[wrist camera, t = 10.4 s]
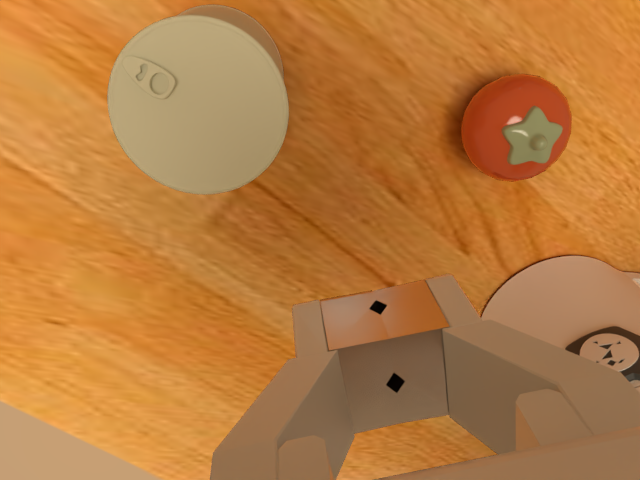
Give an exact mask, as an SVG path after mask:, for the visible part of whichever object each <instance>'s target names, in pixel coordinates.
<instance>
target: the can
mask: <svg viewBox="0 0 640 480" xmlns="http://www.w3.org/2000/svg"><path fill="white" fill-rule="evenodd" d="M107 101H108V112H109V117H110V121H111V125H112V128H113V131H114V133H115V135H116V137H117V140H118V141H119V143H120V145H121V147H122V148H123V150H124V151H125V153H126V154H127V156H128V157H129V158H130V159H131V160H132V162H133V163H134V164H135V165H136V166H137V167H138V168H140V169H141V170H142V171H143V172H144V173H145V174H147V175H148V176H149V177H151V178H152V179H154V180H155V181H157V182H159V183H161V184H163V185H165V186H167V187H170V188H172V189H175V190H178V191H182V192H186V193H192V194H218V193H223V192H228V191H231V190H234V189H237V188H240V187H242V186H244V185H246V184H248V183H249V182H251V181H252V180H254V179H255V178H257V177H258V176H259V175H260V174H262V173H263V172H264V171H265V170H266V169H267V168H268V166H269V165H270V164H271V163H272V162H273V160H274V159H275V157H276V156H277V154H278V152H279V150H280V148H281V146H282V144H283V141H284V138H285V135H286V132H287V127H288V120H289V102H288V95H287V91H286V87H285V84H284V73H283V65H282V60H281V57H280V54H279V51H278V49H277V46H276V44H275V43H274V41H273V39H272V38H271V36H270V35H269V33H268V32H267V31H266V30H265V29H264V27H263V26H262V25H261V24H259V23H258V22H257V21H256V20H255V19H253V18H252V17H250V16H249V15H247V14H245V13H244V12H242V11H239V10H237V9H234V8H231V7H227V6H222V5H202V6H197V7H193V8H190V9H188V10H186V11H184V12H182V13H180V14H178V15H177V16H174V17H169V18H166V19H162V20H160V21H158V22H155V23H153V24H151V25H149V26H147V27H146V28H144V29H143V30H141V31H140V32H139V33H137V34H136V35H135V36H134V37H133V38H132V39H131V40H130V41H129V42H128V43H127V44H126V46H125V47H124V48H123V50H122V51H121V52H120V54H119V56H118V57H117V60H116V62H115V64H114V66H113V69H112V72H111V75H110V79H109V85H108V96H107Z"/></svg>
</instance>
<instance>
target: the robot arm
mask: <svg viewBox="0 0 640 480" xmlns="http://www.w3.org/2000/svg"><path fill="white" fill-rule="evenodd" d="M320 303H321V305H320ZM321 309H322V310H321ZM292 316H293V328H294V340H295V353H296V358H293V359H289V360H288V361H287V362H286V363H285V364H284V365H283V367H282V368H281V369H280V370H279V372H278V373H277V374H276V375H275V377H274V378H273V379H272V380H271V382H270V383H269V384H268V385H267V387H266V388H265V389H264V390H263V392H262V393H261V394H260V395H259V396H258V398H257V399H256V400H255V401H254V403H253V404H252V405H251V406H250V408H249V409H248V410H247V411H246V413H245V414H244V415H243V416H242V418H241V419H240V420H239V421H238V423H237V424H236V425H235V426H234V428H233V429H232V430H231V431H230V432H229V434H228V435H227V436H226V437H225V439H224V440H223V441H222V442H221V444H220V445H219V446H218V447H217V449H216V450H215V451H214V452H213V458H212V466H211V475H210V480H336V478H337V476H338V473H339V471H340V469H341V467H342V464H343V462H344V460H345V457H346V455H347V453H348V450H349V448H350V446H351V443H352V441H353V439H354V434H355V433H360V432H364V431H368V430H373V429H377V428H381V427H386V426H390V425H395V424H399V423H404V422H410V421H416V420H422V419H428V418H433V417H439V416H445V415H449V416H450V418H452V419H453V420H454V421H455V422H457V423H458V424H459V425H461V426H462V427H463V428H465V429H466V430H467V431H468V432H470V433H471V434H472V435H474V436H475V437H476V438H478V439H479V440H480V441H481V442H483V443H484V444H485V445H487V446H488V447H489V448H490V449H492V450H493V451H494V452H496V453H497V454H498V455H493V456H488V457H483V458H479V459H474V460H469V461H464V462H459V463H454V464H449V465H444V466H439V467H434V468H429V469H424V470H419V471H414V472H409V473H404V474H399V475H394V476H389V477H384V478H379V479H374V480H640V273H633V272H622V271H619V270H617V269H615V268H613V267H612V266H610V265H608V264H607V263H605V262H603V261H600V260H598V259H594V258H590V257H585V256H563V257H557V258H552V259H548V260H545V261H542V262H539V263H537V264H535V265H532V266H530V267H528V268H526V269H525V270H523V271H521V272H520V273H518V274H516V275H515V276H514V277H512V278H511V279H510V280H509V281H507V282H506V283H505V284H504V285H503V286H502V287H501V288H500V289H499V290H498V291H497V292H496V293H495V295H494V296H493V297H492V299H491V300H490V302H489V303H488V305H487V306H486V308H485V310H484V312H483V314H482V317H481V318H480V316H479V315H478V313H477V311H476V310H475V308H474V307H473V305H472V304H471V302H470V301H469V299H468V298H467V296H466V295H465V293H464V292H463V290H462V289H461V287H460V285H459V284H458V282H457V281H456V279H455V278H454V276H453V275H451V274H445V275H441V276H436V277H432V278H428V279H424V280H420V281H415V282H411V283H406V284H402V285H397V286H393V287H389V288H384V289H380V290H375V291H372V290H371V291H366V292H360V293H354V294H349V295H343V296H337V297H332V298H326V299H321V300H320V301H319V300H314V301H309V302H304V303H300V304H295V305H293V307H292Z"/></svg>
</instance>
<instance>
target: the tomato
mask: <svg viewBox="0 0 640 480" xmlns="http://www.w3.org/2000/svg"><path fill="white" fill-rule="evenodd" d="M571 121H572V115H571V111H570V108H569V104H568V101H567V99H566V97H565V96H564V95H563V93H562V92H561V91H560V90H559V88H558V87H557V86H555V85H554V84H553V83H551V82H549V81H547V80H545V79H544V78H542V77H540V76H535V75H528V74H514V75H509V76H504V77H500V78H498V79H497V80H495V81H493V82H491V83H489V84H487V85H485V86H484V87H482V88H481V89H480V90H479V91H478V92H477V93H476V94H475V95H474V96H473V97H472V99H471V100H470V102H469V104H468V106H467V107H466V109H465V111H464V115H463V119H462V123H461V137H462V144H463V147H464V149H465V152H466V154H467V156H468V158H469V160H470V161H471V163H472V164H473V165H474V166H475V167H476V168H477V169H478V170H479V171H480V172H482V173H484V174H486V175H488V176H490V177H492V178H495V179H497V180H502V181H511V182H514V181H519V180H524V179H529V178H532V177H534V176H536V175H538V174H540V173H542V172H544V171H545V170H547V169H548V168H549V167H550V166H551V165H552V164H553V163H554V162H556V161H557V160H558V158H559V157H560V155H561V154H562V152H563V151H564V149H565V148H566V146H567V143H568V140H569V137H570V134H571Z"/></svg>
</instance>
